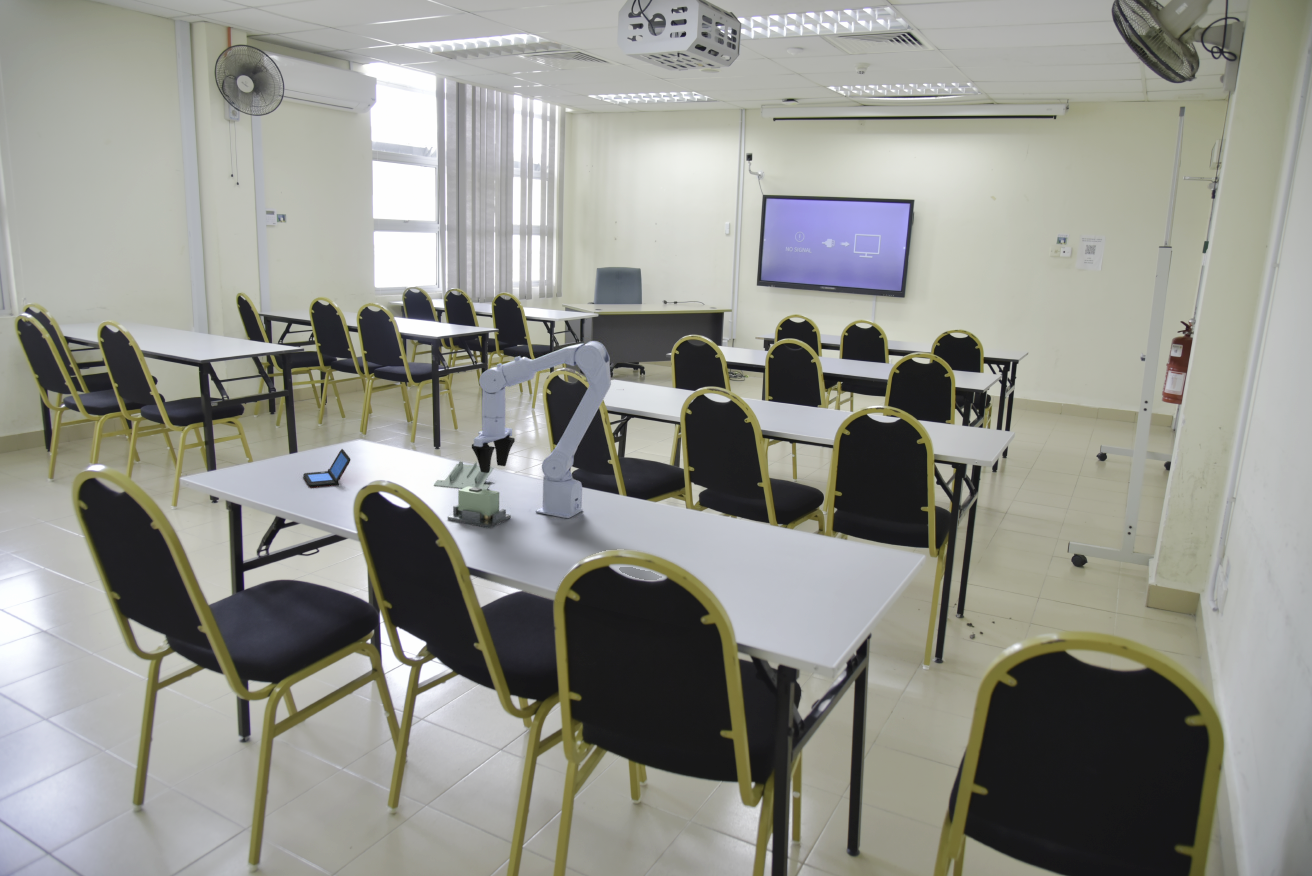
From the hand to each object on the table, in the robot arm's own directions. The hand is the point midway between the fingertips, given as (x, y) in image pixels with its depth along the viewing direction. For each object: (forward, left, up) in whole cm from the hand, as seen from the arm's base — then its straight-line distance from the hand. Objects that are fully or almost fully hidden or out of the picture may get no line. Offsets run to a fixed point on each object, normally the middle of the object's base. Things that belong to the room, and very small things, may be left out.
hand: (493, 468), depth 216 cm
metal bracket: (+18, -15, -11) cm, 26 cm away
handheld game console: (+51, +4, -10) cm, 52 cm away
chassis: (-3, +10, -10) cm, 14 cm away
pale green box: (-3, +10, -8) cm, 13 cm away
